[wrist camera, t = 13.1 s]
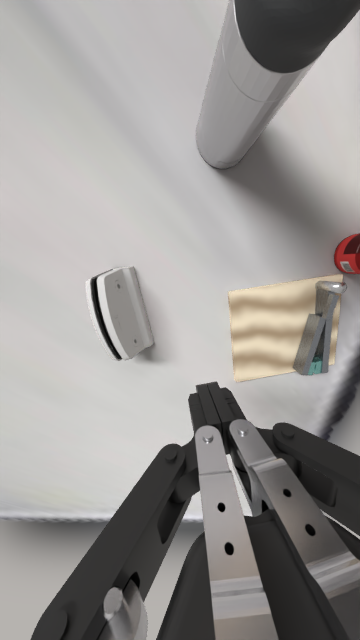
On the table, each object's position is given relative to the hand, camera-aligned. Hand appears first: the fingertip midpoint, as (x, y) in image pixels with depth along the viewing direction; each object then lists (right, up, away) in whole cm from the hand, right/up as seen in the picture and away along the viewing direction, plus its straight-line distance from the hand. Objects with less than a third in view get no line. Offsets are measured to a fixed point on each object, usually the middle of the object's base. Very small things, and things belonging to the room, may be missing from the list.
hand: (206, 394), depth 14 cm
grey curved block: (-13, +7, +25) cm, 29 cm away
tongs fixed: (+28, +4, +29) cm, 40 cm away
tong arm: (+27, +3, +29) cm, 39 cm away
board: (+21, +3, +29) cm, 36 cm away
